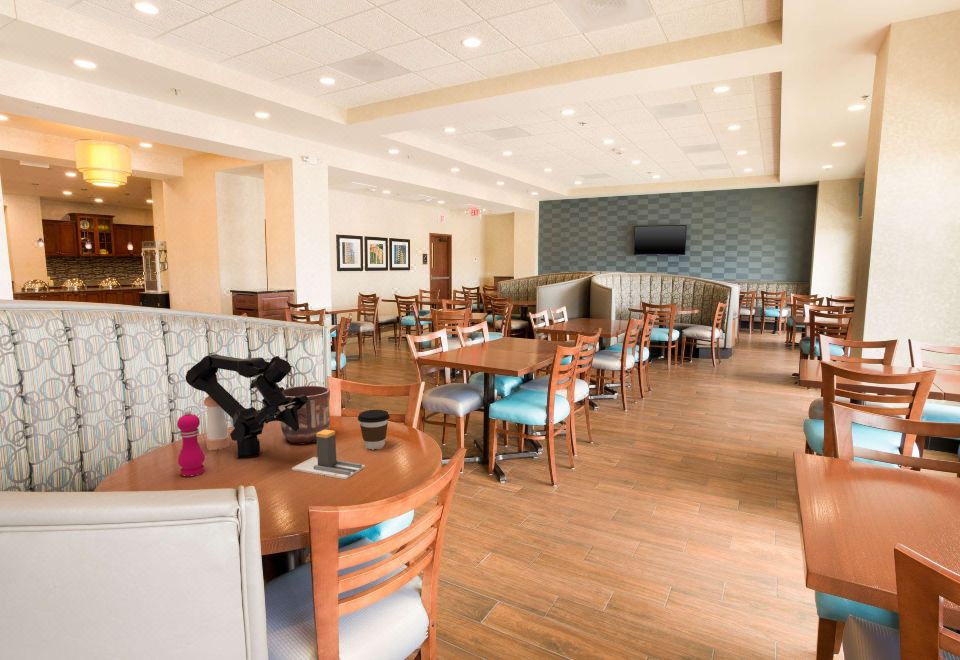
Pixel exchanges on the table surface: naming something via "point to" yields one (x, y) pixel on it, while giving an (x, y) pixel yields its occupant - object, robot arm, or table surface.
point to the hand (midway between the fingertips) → (297, 430)
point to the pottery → (308, 413)
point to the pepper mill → (190, 445)
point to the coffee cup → (374, 428)
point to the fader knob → (326, 448)
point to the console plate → (337, 471)
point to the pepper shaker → (216, 426)
